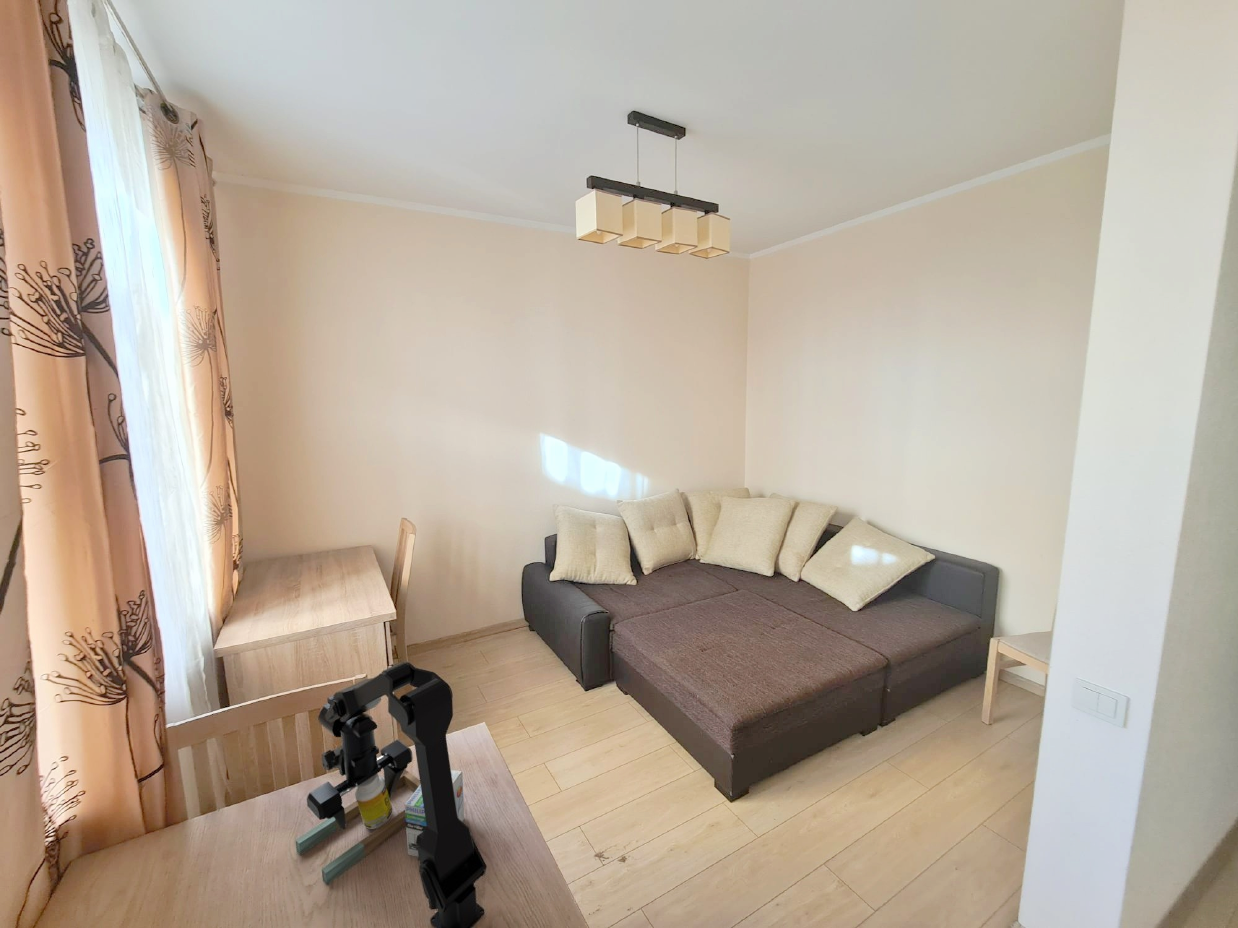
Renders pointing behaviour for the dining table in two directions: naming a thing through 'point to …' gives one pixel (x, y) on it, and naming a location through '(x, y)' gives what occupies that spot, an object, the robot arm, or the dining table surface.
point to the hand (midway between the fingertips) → (366, 812)
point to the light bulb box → (417, 813)
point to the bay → (363, 846)
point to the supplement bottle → (374, 802)
